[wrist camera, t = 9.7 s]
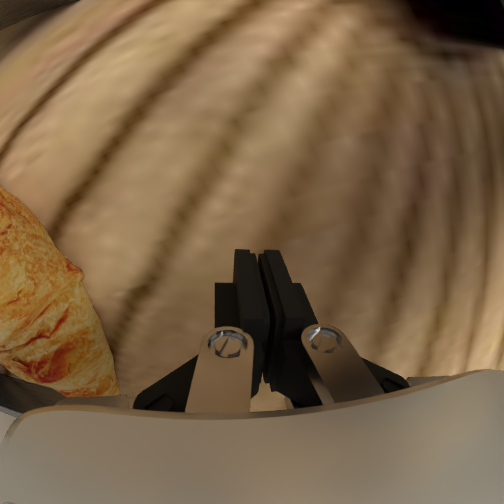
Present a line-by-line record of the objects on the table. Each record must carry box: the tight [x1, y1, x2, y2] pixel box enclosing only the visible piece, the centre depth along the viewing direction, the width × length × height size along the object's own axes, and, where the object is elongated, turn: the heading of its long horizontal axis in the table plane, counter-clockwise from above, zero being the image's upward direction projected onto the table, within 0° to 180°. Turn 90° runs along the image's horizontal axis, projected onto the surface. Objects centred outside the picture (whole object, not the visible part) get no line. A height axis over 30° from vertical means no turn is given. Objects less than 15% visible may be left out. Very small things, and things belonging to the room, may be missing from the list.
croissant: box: [0, 185, 120, 398], centre depth 11 cm, size 21×10×8 cm, turn 25°
